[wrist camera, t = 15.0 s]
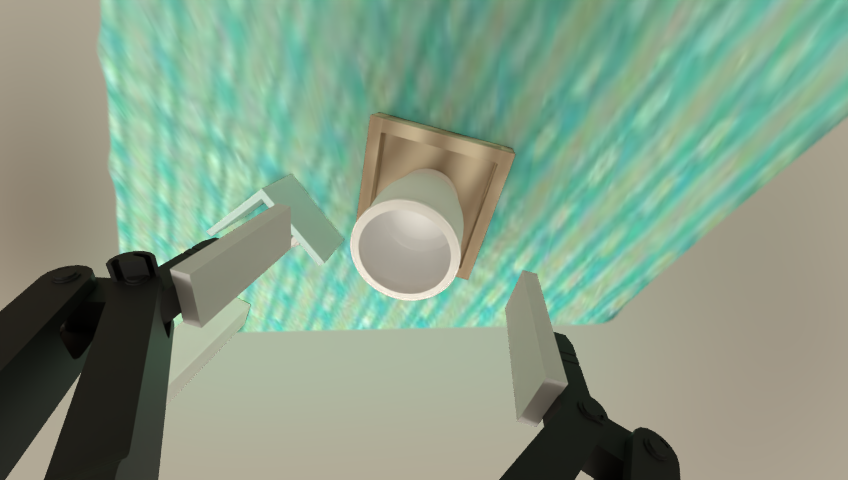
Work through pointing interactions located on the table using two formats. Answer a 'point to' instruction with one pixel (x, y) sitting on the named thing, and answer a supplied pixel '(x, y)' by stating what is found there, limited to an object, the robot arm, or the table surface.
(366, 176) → the wooden tray
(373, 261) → the jar
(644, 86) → the table surface
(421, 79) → the table surface
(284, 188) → the l-shaped corner panel
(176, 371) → the milk
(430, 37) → the table surface
